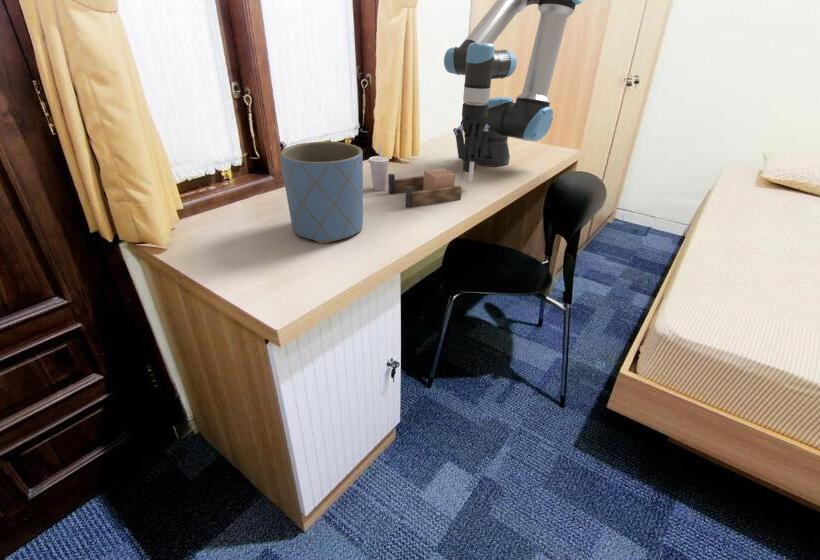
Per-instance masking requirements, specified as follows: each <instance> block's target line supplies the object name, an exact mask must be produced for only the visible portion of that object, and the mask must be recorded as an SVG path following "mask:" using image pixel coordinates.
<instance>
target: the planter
mask: <svg viewBox="0 0 820 560" xmlns="http://www.w3.org/2000/svg"><path fill="white" fill-rule="evenodd" d="M363 153H364V151H363V149H362V148H361V147H360V146H357V145H355V144H351V143H347V142H340V141H339V142H338V141H311V142H304V143H299V144H298V143H297V144H294V145H293V144H292V145H290V146H287V147H285V148H283V149H281V151H280V152H279V156H280V157H279V158H280V162H281V163H280V164H281V170H282V176H283V181H284V189H285V194H286V200H287V204H288V211H289V216H290V222H291V227H292V230H293V232H294V233H295V235H298V236H300V237H301V238H305V239H309V240H313V241H315V242H317V243H318V244H320V245H324V244H327V243H331V242H335V241H338V240H339V241H340V240H344V239H347V238H349V237H351V236H354V235H356V234H358V233H360V232H361V231H362V230H363V219H364V212H363V211H364V209H363V207H364V206H363V204H364V201H363V198H364V197H363V195H364V194H363V193H364V192H363V191H364V189H363V188H364V185H363V184H364V175H363V174H364V172H363V170H364V169H363V166H364V165H363V164H364V163H363V160H364V159H363V157H364V156H363Z"/></svg>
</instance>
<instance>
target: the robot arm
mask: <svg viewBox="0 0 820 560" xmlns="http://www.w3.org/2000/svg"><path fill="white" fill-rule="evenodd" d="M583 2H584V0H495V2H494V3H493V4H492V6H491V7H490V8H489V10H488V11H487V12H486V13H485V15H484V16H483V17H482V19H481V20H480V21H479V22H478V24H477V25H476V26H475V27H474V28H473V30H472V31H471V32H470V33H469V34H468V36H466V38H465V39H464V41H463V42H462V43H461V44H460V46H459V47H457V46H454V47H450V48H448V49H447V50H446V52H445V54H444V57H443V65H444V68H445V70H446V72H447V73H449V74H454V75H458V76H459V75H460V76H464V83H463V84H464V85H463V86H464V87H463V96H462V97H463V99H462V100H463V104H462V109H461V117H462V120H461V122H460V125H458V127H457V128H456V127H454V128H453V133H454V135H455V140H456V147H457V148H456V149H457V158H458V159H459V160H461V161H463V166H462V167H463V168H462V170H463V172H464V178H463V181H464V182H466V183H468V184H469V183H471V184H472V183H473V182H474V172H476V169H477V168H476V167H477V165H480V166H486V167H501V166H506V165H508V164H509V163H510V157H511V156H510V155H511V154H510V150H509V143H508V139H509V137H510V138H514V139H518V140H522V141H527V142H528V141H529V142H539V141H540V140H543V138H544V137H545V136H546V135H547V134H548V131H549V130H550V128H551V126H552V122H553V119H554V111H553V109H552V108H551V106H550V105H551V101H550V99H549V97H548V95H549V90H550V86H551V83H552V79H553V75H554V71H555V68H556V64H557V60H558V55H559V53H560V48H561V44H562V40H563V37H564V32H565V28H566V25H567V21H568V18H569V17H570V16H571V15H573V14H574V12H575V9H576V6H578V5H580V4H582V3H583ZM531 5H537V10H538V11H539V13H540V17H539V21H538V25H537V29H536V32H535V33H536V34H535V37H534V42H533V45H532V50H531V55H530V59H529V61H528V62H529V64H528V67H527V71H526V75H525V81H524V85H523V89H522V92H521V93H519V95H517V97H516V99H515V102H514V98H513V96H512V97H511V96H499V97H498V96H497V97H490V95H491V83H492V80H494V79H495V80H497V79H505V78H509V77H510V76H511V75H513V74H514V73H515V70H516V68H517V65H518V63H517V62H518V61H517V57H516V55H515V54H514V53H515V52H513V51H511V50H507V49H500V50H499V49H495V45H494V43H495V41H496V40H497V39H498V37H499V36H500V35H501V34H502V33H503V32H504V30H505V29H506V28H507V26H508V25H509V24H510V22H512V20H513V19H514V17H515V16H516V15H517V14H519V13H522V12H523V10H525V9H526V7H528V6H531ZM463 134H464V135H463Z"/></svg>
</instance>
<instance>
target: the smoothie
mask: <svg viewBox="0 0 820 560" xmlns="http://www.w3.org/2000/svg"><path fill="white" fill-rule="evenodd" d="M368 163H369V166H370V172H371V178H372V179H371V180H372V187H373V190H374V191H379V192H383V191H385V190H386V185H387V177H388V166H389V163H390V158H389V157H387V156H383V155H382V144H379V155H376V156H374V155H373V156H371V157H369V158H368Z"/></svg>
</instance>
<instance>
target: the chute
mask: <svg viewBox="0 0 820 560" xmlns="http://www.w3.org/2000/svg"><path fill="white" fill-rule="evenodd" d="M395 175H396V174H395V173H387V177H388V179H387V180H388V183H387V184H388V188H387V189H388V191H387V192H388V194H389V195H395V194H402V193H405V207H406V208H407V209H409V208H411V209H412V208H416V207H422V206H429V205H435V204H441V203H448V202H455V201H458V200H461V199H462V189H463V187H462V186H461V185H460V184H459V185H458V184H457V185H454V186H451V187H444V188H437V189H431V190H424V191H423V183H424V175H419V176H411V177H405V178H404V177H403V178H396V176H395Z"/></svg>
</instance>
